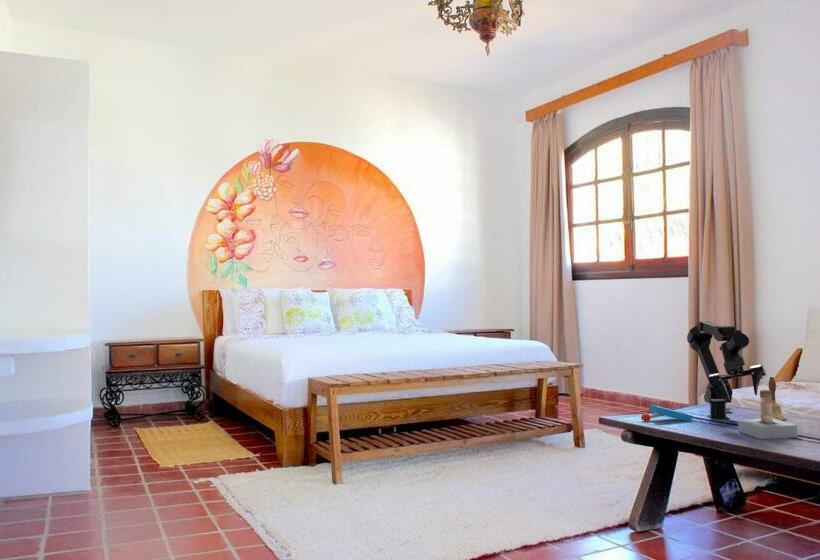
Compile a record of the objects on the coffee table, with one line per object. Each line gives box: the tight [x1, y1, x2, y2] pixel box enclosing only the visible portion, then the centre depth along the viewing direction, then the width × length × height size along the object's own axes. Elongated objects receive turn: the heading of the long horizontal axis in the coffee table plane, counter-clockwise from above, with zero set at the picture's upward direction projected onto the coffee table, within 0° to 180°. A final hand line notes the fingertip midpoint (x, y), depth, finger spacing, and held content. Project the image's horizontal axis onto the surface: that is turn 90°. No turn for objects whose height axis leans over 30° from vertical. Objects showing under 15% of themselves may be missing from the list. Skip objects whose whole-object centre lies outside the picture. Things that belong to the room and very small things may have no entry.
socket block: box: [737, 418, 798, 440], centre depth 238 cm, size 13×13×4 cm
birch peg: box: [759, 389, 773, 424], centre depth 238 cm, size 4×4×15 cm
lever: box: [640, 403, 694, 422], centre depth 268 cm, size 7×7×18 cm
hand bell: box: [767, 376, 787, 421], centre depth 265 cm, size 8×8×16 cm
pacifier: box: [726, 403, 733, 413], centre depth 283 cm, size 7×6×6 cm
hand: (742, 397), depth 249 cm, fingers open, 9 cm apart
